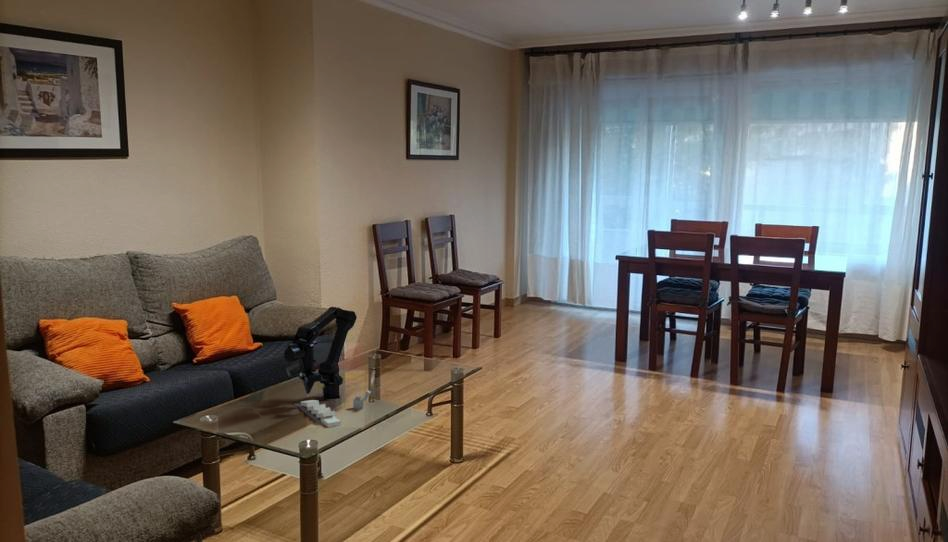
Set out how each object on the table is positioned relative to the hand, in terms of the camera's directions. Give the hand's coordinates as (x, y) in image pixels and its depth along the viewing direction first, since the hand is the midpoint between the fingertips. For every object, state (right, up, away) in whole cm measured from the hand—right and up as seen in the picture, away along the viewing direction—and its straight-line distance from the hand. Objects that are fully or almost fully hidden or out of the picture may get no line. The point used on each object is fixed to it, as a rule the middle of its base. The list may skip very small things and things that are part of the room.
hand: (307, 393), depth 292 cm
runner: (+5, -7, -7) cm, 11 cm away
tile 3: (+9, -6, -13) cm, 17 cm away
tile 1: (+3, -5, -4) cm, 7 cm away
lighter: (+23, -6, -2) cm, 24 cm away
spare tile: (-1, -4, +2) cm, 5 cm away
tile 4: (+11, -7, -17) cm, 22 cm away
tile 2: (+6, -6, -9) cm, 12 cm away
